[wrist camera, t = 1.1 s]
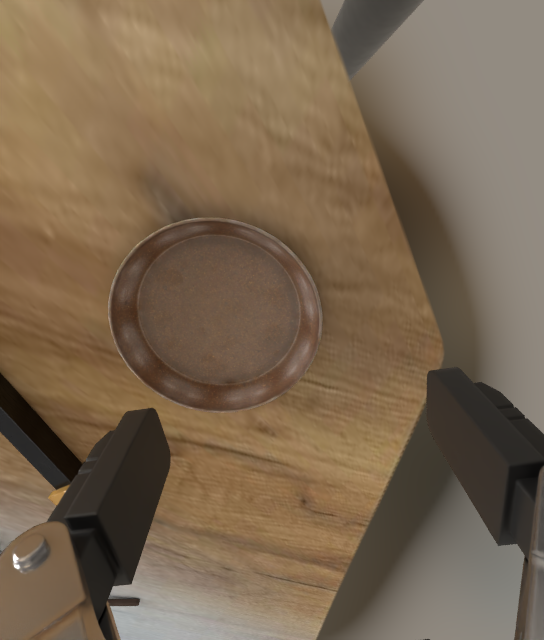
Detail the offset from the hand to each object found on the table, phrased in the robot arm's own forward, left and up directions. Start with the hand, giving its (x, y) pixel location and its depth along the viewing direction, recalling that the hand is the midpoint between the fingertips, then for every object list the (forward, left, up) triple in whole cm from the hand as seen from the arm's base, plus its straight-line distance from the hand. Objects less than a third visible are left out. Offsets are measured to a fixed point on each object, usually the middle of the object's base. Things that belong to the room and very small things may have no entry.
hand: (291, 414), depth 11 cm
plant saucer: (+7, +3, -22) cm, 23 cm away
